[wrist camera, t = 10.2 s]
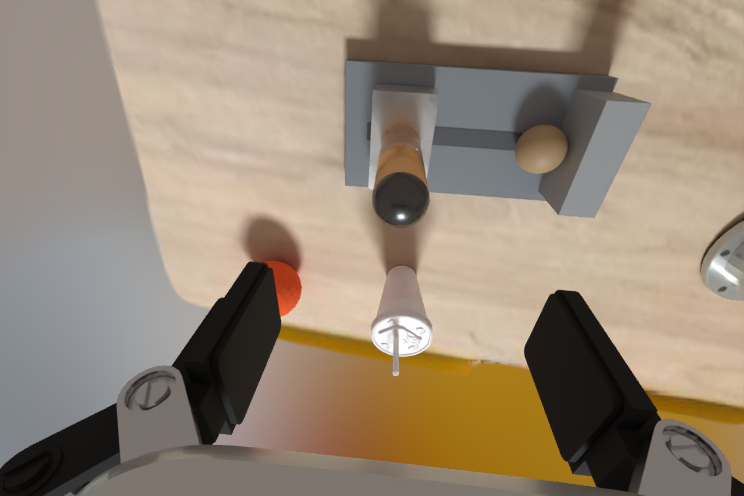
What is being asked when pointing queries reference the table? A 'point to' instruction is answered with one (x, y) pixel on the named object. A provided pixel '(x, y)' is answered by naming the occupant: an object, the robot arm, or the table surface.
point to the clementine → (285, 286)
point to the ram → (401, 151)
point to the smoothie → (401, 317)
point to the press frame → (506, 131)
